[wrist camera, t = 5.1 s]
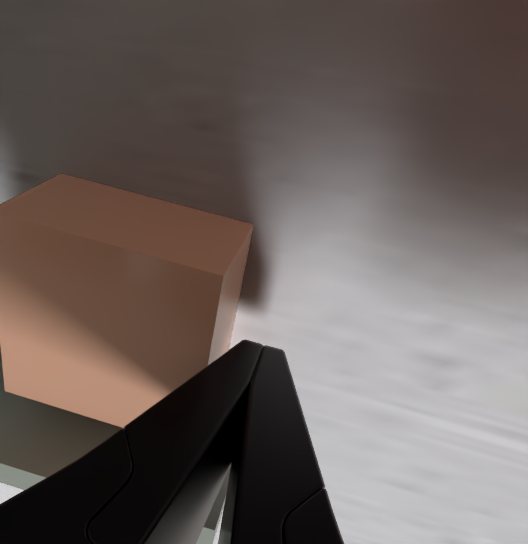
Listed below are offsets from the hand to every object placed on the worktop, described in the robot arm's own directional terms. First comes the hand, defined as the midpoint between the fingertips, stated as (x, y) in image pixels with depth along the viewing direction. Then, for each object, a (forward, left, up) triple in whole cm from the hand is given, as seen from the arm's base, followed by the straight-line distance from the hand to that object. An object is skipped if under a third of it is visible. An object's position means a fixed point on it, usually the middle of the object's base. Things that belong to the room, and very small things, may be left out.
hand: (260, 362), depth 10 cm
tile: (0, +3, -2) cm, 3 cm away
